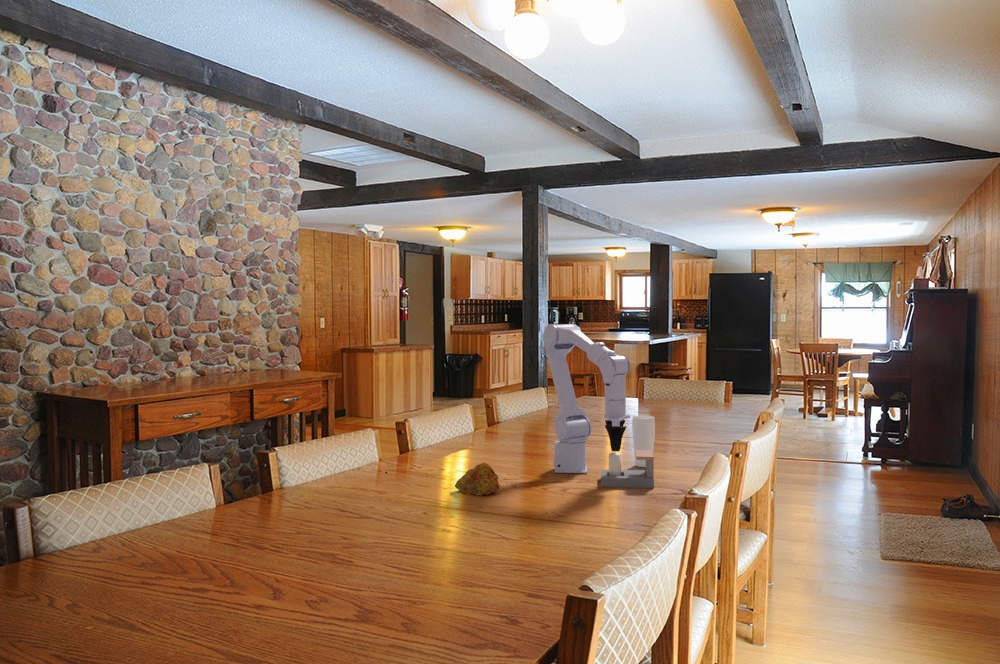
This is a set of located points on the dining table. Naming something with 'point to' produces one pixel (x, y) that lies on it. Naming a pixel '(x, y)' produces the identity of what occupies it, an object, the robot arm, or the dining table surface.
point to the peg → (614, 464)
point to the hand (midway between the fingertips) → (615, 448)
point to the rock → (479, 481)
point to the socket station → (632, 474)
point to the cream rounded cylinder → (643, 435)
